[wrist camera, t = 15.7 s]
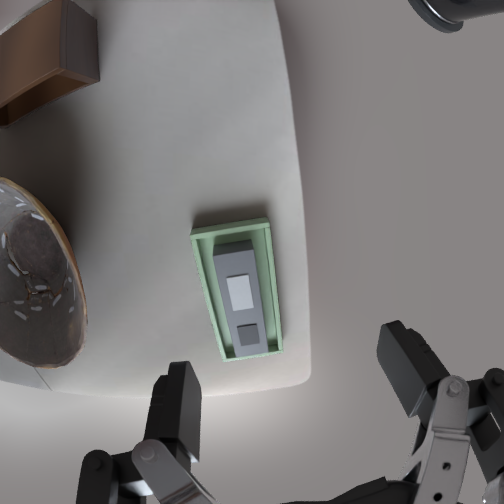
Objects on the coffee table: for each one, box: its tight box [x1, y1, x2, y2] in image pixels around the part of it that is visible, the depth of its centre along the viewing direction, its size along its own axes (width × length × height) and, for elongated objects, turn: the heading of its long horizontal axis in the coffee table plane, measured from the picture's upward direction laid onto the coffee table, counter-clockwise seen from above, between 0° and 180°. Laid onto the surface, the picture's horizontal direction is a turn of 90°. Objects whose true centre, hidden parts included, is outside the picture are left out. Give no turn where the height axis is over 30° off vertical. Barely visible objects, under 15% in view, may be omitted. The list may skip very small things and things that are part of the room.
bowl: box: [0, 177, 88, 369], centre depth 26 cm, size 25×25×10 cm
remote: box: [212, 239, 269, 357], centre depth 33 cm, size 15×4×3 cm, turn 8°
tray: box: [190, 217, 283, 362], centre depth 34 cm, size 19×9×2 cm, turn 8°
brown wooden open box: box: [0, 0, 100, 129], centre depth 17 cm, size 16×9×9 cm, turn 98°
